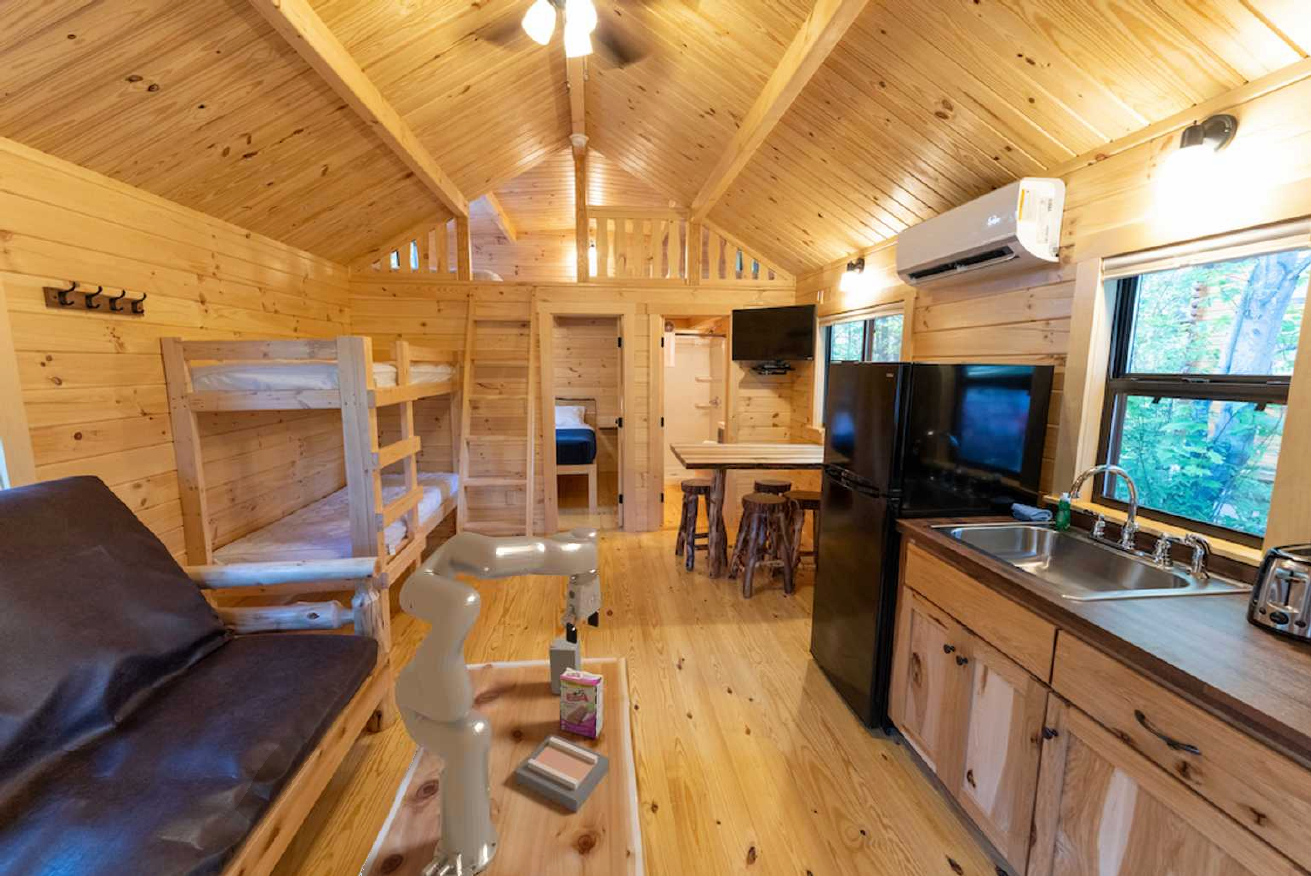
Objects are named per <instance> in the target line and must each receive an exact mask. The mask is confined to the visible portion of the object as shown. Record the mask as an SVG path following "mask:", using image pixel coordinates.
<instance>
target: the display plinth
mask: <svg viewBox="0 0 1311 876" xmlns="http://www.w3.org/2000/svg"><path fill="white" fill-rule="evenodd" d="M609 769H610V758H609V757H607V756H605V755H603V754H600V753H598V752H596V751H593V750H591V749H589V748H586V747H584V746H582V745H580V744H577V743H575V742H572V741H570V740H568V739H566V738H563V737H561V736H559V735H557V734H554V733H553V732H552V733H550V734H549V735H548V736H547V737H546V738H545V739H544V741H542V742H541V744H539V746H538V747H537V748H536V749H534V751H532V753H531V754H530V755H528V757H527V758H525V760H524V761H523V762H522V763H521V764H520V765H519V766H518V767H517V768H516V769H515V771H514V779H515V780H514V782H515V783H517V784H519V785H521V786H523V787H525V788H527V789H528V790H530V791H532V792H534V793H537V794H539V795H541V796H543V797H545V798H547V799H549V800H550V801H553V802H554V803H556V804H558V805H561V806H563V807H564V808H567V809H568V810H571V811H572V812H575V813H578V812H579V810H580V809H581V808H582V806H583V805H584V803H585V802H586V801H587V799H588V798H589V796H590V795H591V794H592V793H593V792H594V790H595V788H596V787H597V786H598V785H599V783H600V782H601V781H602V779H603V778H604V776H605V775H606V773H607V772H608V771H609Z"/></svg>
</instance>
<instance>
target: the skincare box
mask: <svg viewBox="0 0 1311 876" xmlns="http://www.w3.org/2000/svg"><path fill="white" fill-rule="evenodd" d="M580 640H581V638H578V637H577V643H576V644H573V643H570V642H568V641H566V637H558V636H557V637H555V638H554V639H553V641H552V643H551V645H550V647H549V648H548V651H549V665H550V666H549V667H550V684H551V686H550V687H551V694H552V695H553V694H554V695H560V676H561V675H562V674H563V672H564V671H565V670H566V668H572V669H576V670H581V671H582V659H581V657H582V656H581V655H582V654H581V641H580Z"/></svg>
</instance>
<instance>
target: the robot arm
mask: <svg viewBox="0 0 1311 876" xmlns="http://www.w3.org/2000/svg"><path fill="white" fill-rule="evenodd" d="M598 534H599V533H598V531H597V529H595V528H594V527H591V526H586V525H585V526H582V525H581V526H577V527H574V528H572V529H571V530H569V531H565V532H559V533H555V534H552V535H550V536H549V537H547V538H546V537H540V536H534V535H515V536H497V537H496V536H488V535H483V534H480V533H474V532H471V531H462V532H459V533H457V534H455V535H453V536H451V537H450V538H448V540H446V541H445V542H444V543H442V544H441V545H440V546H439V547H438V548H437V549H435V551H434V552H433V553H432V554H430V556H428V558H426V559H425V560H424V562H422V563H421V565H419V566H418V567H417V568H416V569H415V570H414V571H413V572H412V573H411V574H410V575H409V576H408V577H407V578H406V580H405V581H404V583H403V585H402V586H401V589H400V592H399V597H398V598H399V599H398V601H399V605H400V607H401V609H402V611H404V612H405V613H406V614H407V615H409V616H411V617H414V618H416V619H420V620H422V621H423V622H426V623H428V624H429V623H430V624H432V625H431V627H430V628H429V630H428V632H427V633H426V634H425V636H424V638H423V639H422V640H421V641H420V643H419V644H418V646H417V647H416V648H415V651H414V654H413V659H411V660H409V661H408V662H407V663H405V664H404V666H403V667H402V669H401V670H400V672H399V673H398V675H397V677H396V680H395V684H394V691H393V692H394V700H395V703H396V705H397V708H398V710H399V714H400V716H401V719H402V723H403V725H404V727H405V730H406V731H407V734H408V736H409V737H410V739H411V740H412V742H414V743H415V744H416V745H418V746H420V747H422V748H423V749H425V750H427V751H428V752H431V753H432V754H433V755H435V756H436V757H439V758H440V759H441V760H443V763H445V766H444V767H443V768H442V770H441V772H440V774H439V778H438V799H439V802H438V803H439V805H438V806H439V820H440V823H439V825H440V838H439V840H438V841H437V843H436V846H435V848H434V851H433V859H432V860H431V861H430V862H429V863H427V865H426V866H425V867H424V868H423V869H422V870H421V872H420V876H433V875H434V874H435V876H471V875H473V874H476V873H477V872H479V871H481V870H482V871H483V870H485V868H487V867H488V866H489V865H490V863H491V862H492V861H493V859H494V857H495V855H496V854H497V851H498V848H499V833H498V831H497V828H496V827H495V825H493V823H491V819H490V818H491V817H490V816H491V815H490V814H491V813H490V810H491V809H490V783H489V781H490V776H489V774H490V773H489V759H490V751H491V746H492V741H493V733H494V731H493V730H494V729H493V725H492V723H491V721H490V719H488V717H487V716H486V715H485V714H484V713H482V712H481V711H479V710H476V709H475V708H472V706H473V705H474V693H475V692H474V688H473V686H474V685H473V682H472V679H471V676H470V673H469V672H470V671H469V670H468V666H467V662H466V660H465V659H466V658H465V655H464V644H465V643H466V640H467V638H468V636H469V634H470V632H471V630H472V629H473V627H474V625H475V624H476V622H477V620H478V619H479V616H480V613H481V609H482V599H481V596H480V594H479V592H478V590H477V589H475V587H473V586H471V585H470V584H467V583H466V582H463V581H459V580H457V579H456V578H457V576H458V575H459V574H462V575H466V576H470V577H473V578H476V579H478V580H479V579H480V580H486V581H493V580H501V579H505V578H506V579H507V578H512V577H517V576H527V575H532V576H535V575H536V576H568V582H567V590H566V603H565V612H564V613H563V614H562V616H561V617H560V621H561V623H562V627H564V628H565V638H566V641H568V642H570V643H573V644H576V643H577V638H578V629H577V626H578V624H579V622H583V621H585V620H587V625H589V626H592V627H595V628H598V627H599V620H600V619H599V618H600V617H599V616H600V615H599V613H600V611H601V609H600V608H601V606H602V605H601V604H602V599H603V594H604V593H603V592H601V582H600V577H599V574H598V562H599V561H598V557H599V551H598V550H599V549H598V548H599V547H598V545H599V544H598V540H599V538H598V537H599V536H598ZM572 620H573V623H571V621H572ZM486 866H487V867H486ZM436 870H437V871H438V872H437V871H436ZM482 871H481V872H482ZM435 872H436V873H435ZM479 873H480V872H479ZM476 875H477V874H476Z"/></svg>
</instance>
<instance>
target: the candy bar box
mask: <svg viewBox="0 0 1311 876" xmlns="http://www.w3.org/2000/svg"><path fill="white" fill-rule="evenodd" d="M603 701H604V675H603V674H598V673H593V672H589V671H585V670H582V669H581V670H576V669H572V668H566V670H565V671H564V672H563V674H562V675H561V676H560V694H559V731H562V732H567V733H572V734H575V735H579V736H583V737H588V738H591V739H595V740H597V738H598V736H599V734H600V732H601V730H602V728H603V713H604V712H603V708H604V707H603V705H604V703H603Z"/></svg>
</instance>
